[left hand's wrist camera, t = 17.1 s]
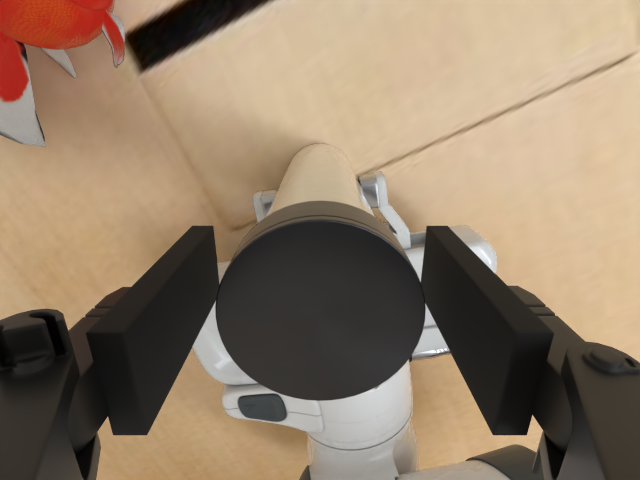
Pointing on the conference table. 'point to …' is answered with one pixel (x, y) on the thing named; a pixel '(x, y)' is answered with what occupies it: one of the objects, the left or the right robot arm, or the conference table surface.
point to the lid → (320, 302)
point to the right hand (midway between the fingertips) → (317, 183)
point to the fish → (53, 37)
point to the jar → (320, 180)
